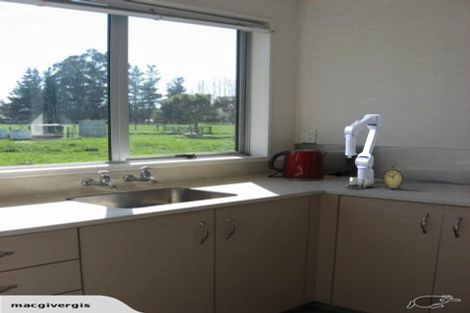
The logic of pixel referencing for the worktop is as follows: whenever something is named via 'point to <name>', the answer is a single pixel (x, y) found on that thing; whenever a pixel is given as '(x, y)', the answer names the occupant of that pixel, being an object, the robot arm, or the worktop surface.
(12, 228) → the worktop surface
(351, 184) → the collar
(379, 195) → the worktop surface
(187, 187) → the worktop surface
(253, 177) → the worktop surface
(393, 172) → the alarm clock
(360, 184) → the duct socket
